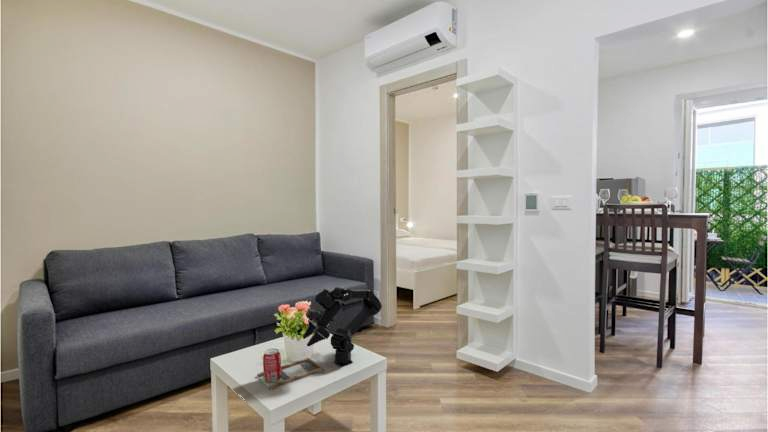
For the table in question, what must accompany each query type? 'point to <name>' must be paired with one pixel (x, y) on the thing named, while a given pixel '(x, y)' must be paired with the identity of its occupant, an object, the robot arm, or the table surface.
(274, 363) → the soda can
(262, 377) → the pad
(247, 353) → the table surface
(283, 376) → the trap strips
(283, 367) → the trap lane
